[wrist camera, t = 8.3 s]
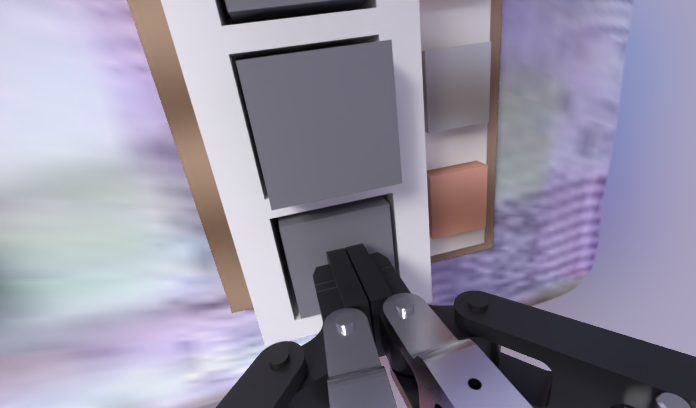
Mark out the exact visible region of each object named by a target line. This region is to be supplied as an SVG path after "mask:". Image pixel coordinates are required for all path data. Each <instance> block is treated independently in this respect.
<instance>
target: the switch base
mask: <svg viewBox="0 0 696 408" xmlns="http://www.w3.org/2000/svg"><path fill="white" fill-rule="evenodd" d="M127 2H128V5H129V8H130V11H131V14H132V17H133V19H134V22H135V25H136V28H137V31H138V34H139V37H140V40H141V43H142V46H143V49H144V52H145V55H146V58H147V61H148V64H149V67H150V70H151V73H152V76H153V79H154V82H155V85H156V88H157V91H158V94H159V97H160V100H161V103H162V106H163V109H164V112H165V115H166V118H167V121H168V124H169V127H170V130H171V133H172V136H173V139H174V142H175V145H176V147H177V150H178V153H179V156H180V159H181V162H182V165H183V168H184V171H185V174H186V177H187V180H188V183H189V186H190V189H191V192H192V195H193V198H194V201H195V204H196V207H197V210H198V213H199V216H200V219H201V222H202V225H203V228H204V231H205V234H206V237H207V240H208V243H209V246H210V249H211V252H212V255H213V258H214V261H215V264H216V267H217V270H218V273H219V275H220V278H221V281H222V284H223V287H224V290H225V293H226V296H227V299H228V302H229V305H230V308H231V311H232V313H234V312H238V311H242V310H246V309H250V308H254V307H253V304H252V301H251V298H250V294H249V291H248V288H247V284H246V281H245V278H244V274H243V271H242V268H241V264H240V261H239V258H238V255H237V251H236V248H235V245H234V241H233V238H232V235H231V231H230V228H229V225H228V221H227V218H226V215H225V212H224V208H223V205H222V202H221V198H220V195H219V192H218V188H217V185H216V182H215V178H214V175H213V172H212V169H211V165H210V162H209V159H208V155H207V152H206V149H205V145H204V142H203V139H202V135H201V132H200V129H199V126H198V122H197V119H196V116H195V112H194V109H193V106H192V102H191V99H190V96H189V92H188V89H187V86H186V83H185V79H184V76H183V73H182V69H181V66H180V63H179V59H178V56H177V53H176V50H175V46H174V43H173V40H172V36H171V33H170V30H169V26H168V23H167V20H166V16H165V13H164V10H163V7H162V3H161V0H127ZM224 2H225V0H224ZM225 7H226V11H227V6H226V2H225ZM419 11H420V33H421V56H422V78H423V101H424V124H425V146H426V169H427V191H428V214H429V237H430V259H431V263H433V262H437V261H441V260H445V259H449V258H453V257H457V256H461V255H465V254H469V253H473V252H477V251H481V250H485V249H489V248H493V225H494V199H495V174H496V148H497V122H498V96H499V71H500V45H501V19H502V0H419ZM227 15H228V19H229V23H230V25H234V24H235V23H234V21H233V20H232V18H231V16H230V15H229V13H228V11H227ZM351 45H352V44H351ZM343 46H348V45H343ZM336 47H340V46H336ZM328 48H333V47H328ZM321 49H325V48H321ZM314 50H318V49H314ZM306 51H311V50H306ZM299 52H303V51H299ZM291 53H296V52H291ZM284 54H289V53H284ZM277 55H281V54H277ZM269 56H274V55H269ZM262 57H267V56H262ZM255 58H259V57H255ZM247 59H252V58H247ZM240 60H245V59H240ZM276 220H277V224H278V228H279V220H278V217H276ZM279 232H280V229H279ZM280 237H281V233H280ZM281 241H282V238H281ZM282 245H283V242H282ZM283 249H284V246H283ZM284 253H285V250H284ZM285 258H286V254H285ZM286 262H287V259H286ZM287 266H288V263H287ZM288 270H289V267H288ZM289 272H290V271H289Z"/></svg>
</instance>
